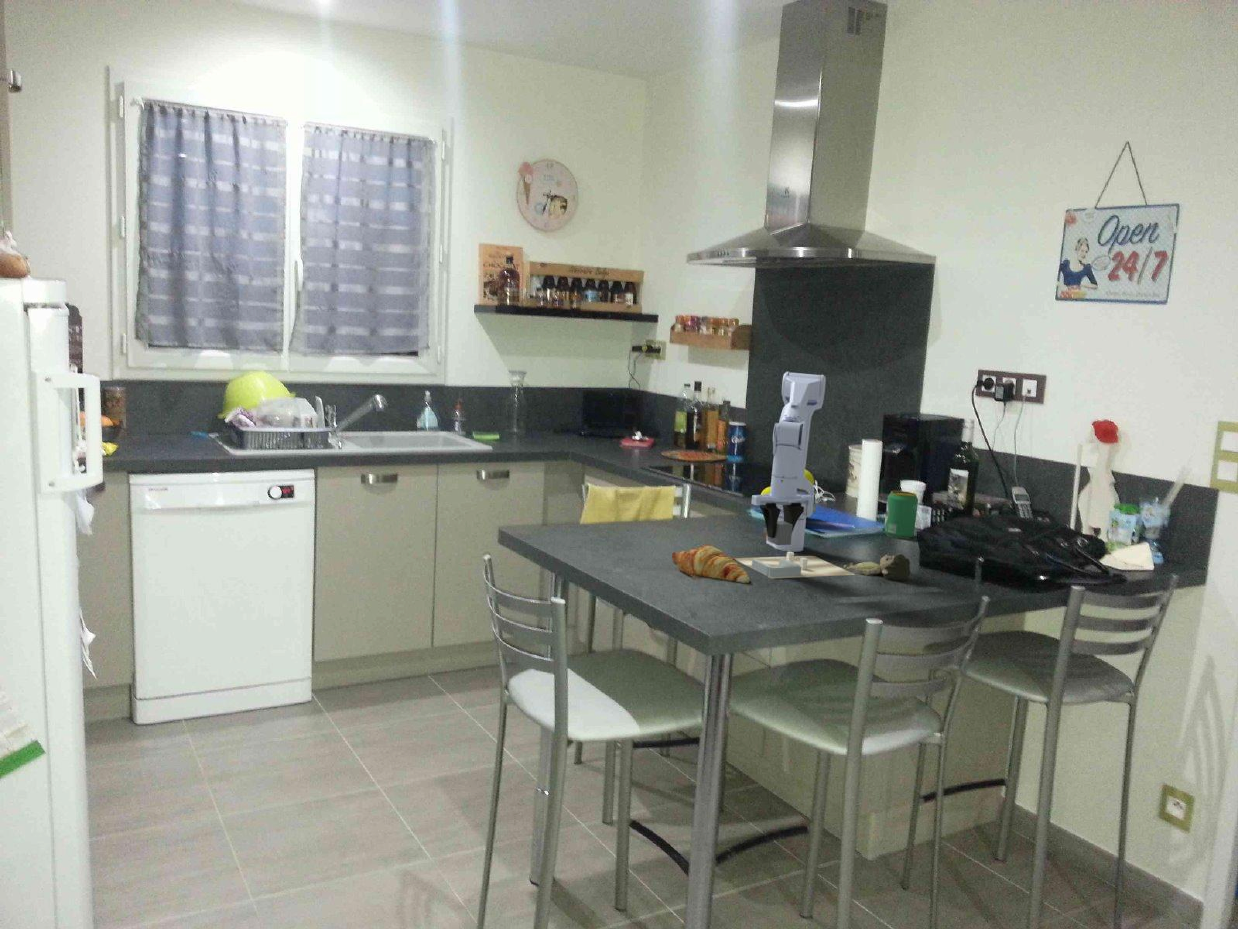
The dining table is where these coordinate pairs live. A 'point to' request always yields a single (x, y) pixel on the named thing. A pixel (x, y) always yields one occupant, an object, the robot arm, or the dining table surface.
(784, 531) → the block
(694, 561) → the croissant
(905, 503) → the beverage can
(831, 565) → the board
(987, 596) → the dining table surface
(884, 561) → the figurine
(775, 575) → the end holder
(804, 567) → the twin white cubes
